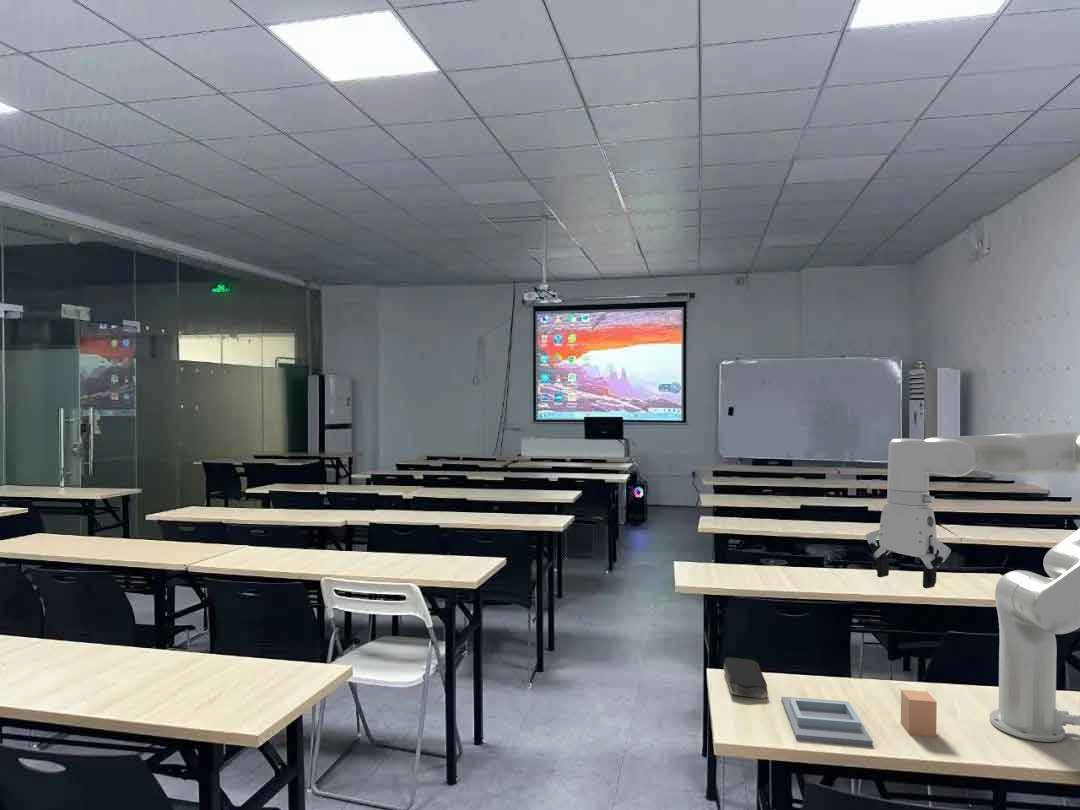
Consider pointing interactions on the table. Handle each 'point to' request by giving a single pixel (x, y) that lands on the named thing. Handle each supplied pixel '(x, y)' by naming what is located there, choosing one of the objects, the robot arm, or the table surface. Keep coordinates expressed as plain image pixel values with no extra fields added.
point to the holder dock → (825, 721)
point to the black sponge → (745, 678)
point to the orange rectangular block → (918, 713)
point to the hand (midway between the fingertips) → (905, 581)
